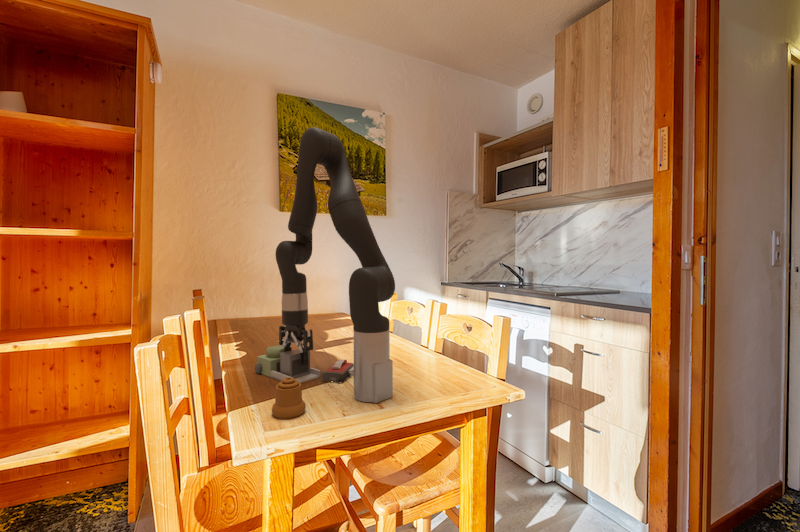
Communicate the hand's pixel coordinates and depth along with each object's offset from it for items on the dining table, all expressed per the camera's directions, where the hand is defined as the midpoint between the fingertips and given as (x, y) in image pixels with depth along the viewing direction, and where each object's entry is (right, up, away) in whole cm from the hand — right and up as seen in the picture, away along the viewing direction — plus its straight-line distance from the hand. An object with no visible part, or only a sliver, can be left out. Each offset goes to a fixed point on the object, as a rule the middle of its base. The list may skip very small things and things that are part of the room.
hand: (295, 362), depth 115 cm
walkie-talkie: (+14, -5, +4) cm, 16 cm away
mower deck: (-3, -5, +3) cm, 6 cm away
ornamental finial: (+5, -5, -26) cm, 27 cm away
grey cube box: (0, -4, 0) cm, 4 cm away
